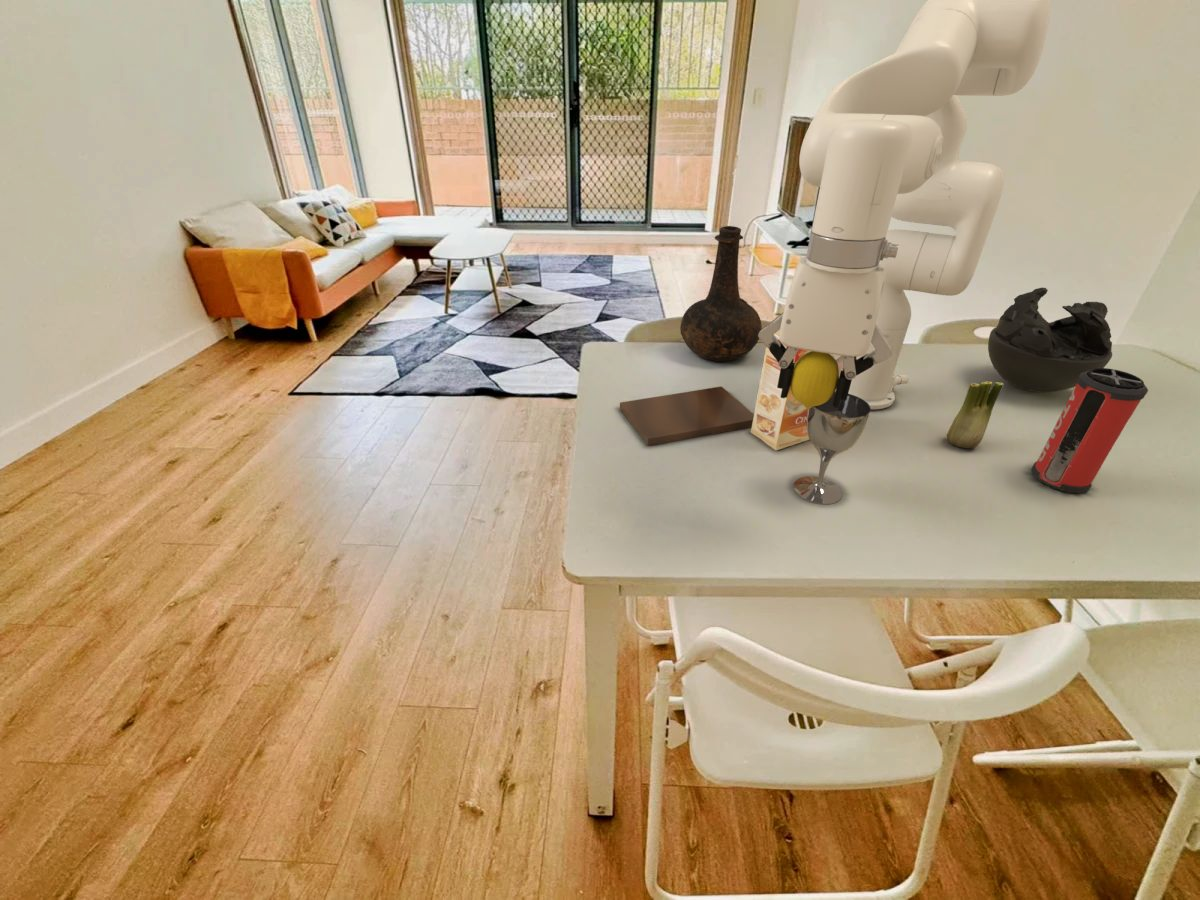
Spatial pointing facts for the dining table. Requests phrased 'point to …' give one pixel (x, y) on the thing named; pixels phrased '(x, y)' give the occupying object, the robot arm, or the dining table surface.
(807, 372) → the lemon
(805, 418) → the coffeecake box
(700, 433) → the cutting board
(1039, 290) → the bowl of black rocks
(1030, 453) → the dining table surface
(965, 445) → the fennel bulb
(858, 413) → the wine glass
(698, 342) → the glass bottle
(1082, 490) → the speaker
